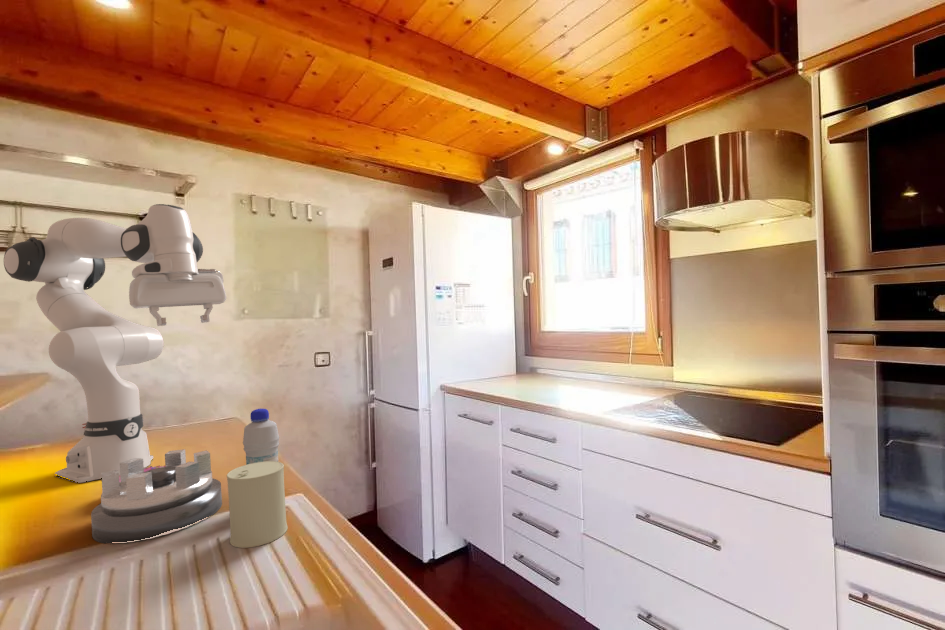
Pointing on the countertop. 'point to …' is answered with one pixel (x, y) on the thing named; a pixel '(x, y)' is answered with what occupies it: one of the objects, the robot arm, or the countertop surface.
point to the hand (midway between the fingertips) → (184, 323)
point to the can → (256, 504)
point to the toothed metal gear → (155, 484)
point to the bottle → (261, 438)
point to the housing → (154, 518)
